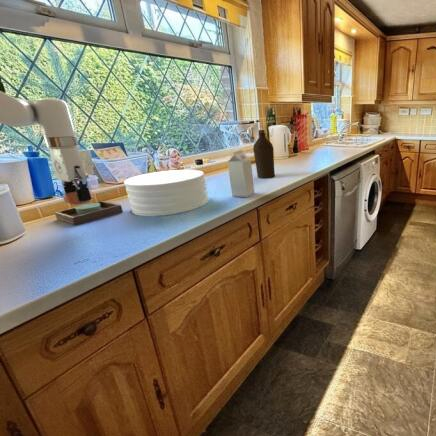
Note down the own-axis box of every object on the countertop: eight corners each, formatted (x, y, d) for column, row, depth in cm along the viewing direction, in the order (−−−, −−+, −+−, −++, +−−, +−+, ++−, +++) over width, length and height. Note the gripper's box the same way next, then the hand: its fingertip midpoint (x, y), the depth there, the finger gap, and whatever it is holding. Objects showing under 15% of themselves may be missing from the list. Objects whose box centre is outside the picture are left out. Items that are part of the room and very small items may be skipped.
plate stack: (222, 200, 125) (218, 173, 121) (155, 221, 104) (147, 188, 100) (184, 192, 140) (179, 167, 136) (118, 208, 119) (110, 180, 115)
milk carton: (232, 196, 130) (225, 152, 124) (240, 192, 137) (234, 149, 130) (247, 197, 128) (241, 152, 122) (254, 193, 135) (249, 149, 128)
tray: (74, 225, 102) (72, 217, 101) (56, 219, 108) (54, 212, 107) (122, 211, 115) (120, 204, 114) (104, 207, 121) (102, 200, 120)
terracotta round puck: (72, 206, 93) (69, 197, 92) (61, 203, 96) (58, 194, 95) (98, 200, 99) (96, 191, 98) (87, 198, 102) (85, 189, 101)
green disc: (83, 218, 107) (81, 210, 106) (73, 215, 110) (71, 207, 109) (106, 212, 113) (104, 204, 112) (96, 209, 116) (94, 202, 115)
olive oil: (278, 177, 165) (274, 129, 157) (259, 179, 161) (253, 131, 152) (272, 173, 174) (268, 128, 166) (254, 176, 170) (249, 130, 161)
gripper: (34, 143, 92) (52, 198, 98) (60, 145, 84) (78, 205, 90) (64, 141, 98) (79, 193, 104) (90, 142, 90) (106, 199, 96)
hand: (79, 198), depth 97 cm, fingers closed on terracotta round puck, 7 cm apart
